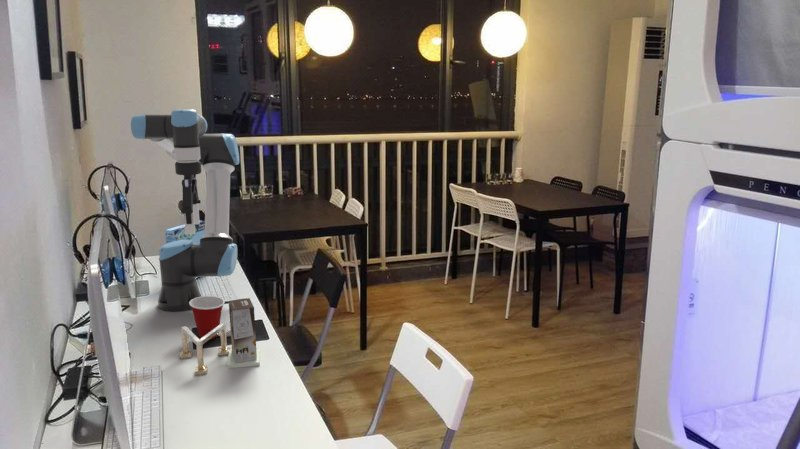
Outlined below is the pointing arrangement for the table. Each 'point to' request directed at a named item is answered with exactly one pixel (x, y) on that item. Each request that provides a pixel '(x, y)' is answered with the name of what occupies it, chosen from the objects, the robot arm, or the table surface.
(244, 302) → the coffee box
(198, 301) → the plastic cup
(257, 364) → the end plate
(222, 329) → the three-legged tripod stand
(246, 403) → the table surface
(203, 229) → the gum box
